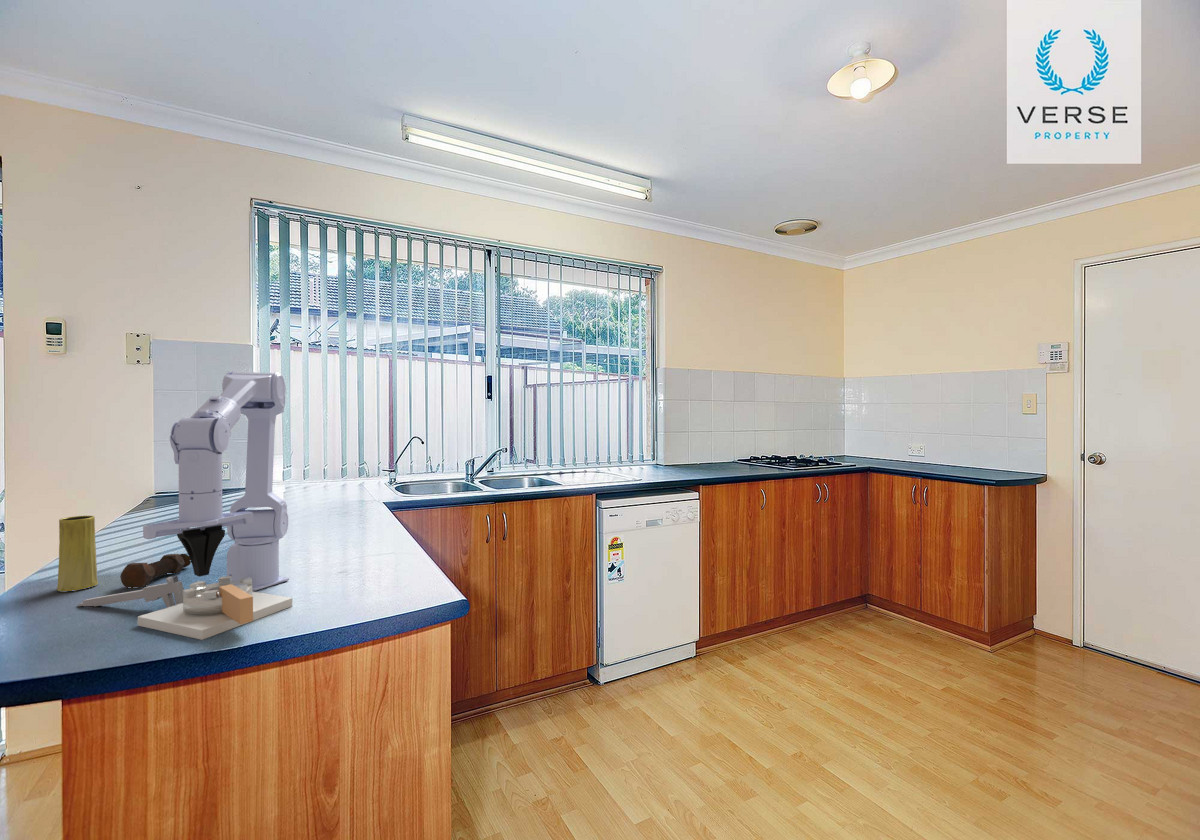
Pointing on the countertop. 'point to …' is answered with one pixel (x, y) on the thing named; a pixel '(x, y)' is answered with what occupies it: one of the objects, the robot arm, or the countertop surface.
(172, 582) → the caliper
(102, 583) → the countertop surface
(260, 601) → the cap plate
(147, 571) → the bolt
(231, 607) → the ring clamp with plank
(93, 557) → the vase
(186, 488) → the robot arm
